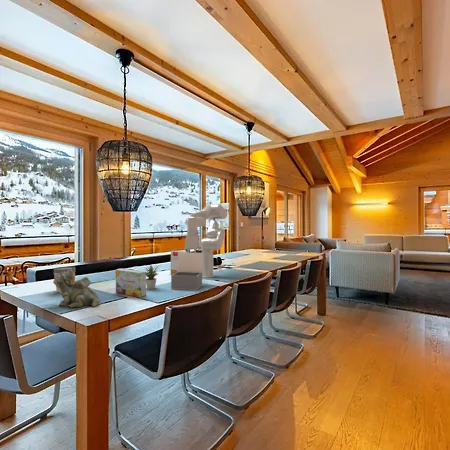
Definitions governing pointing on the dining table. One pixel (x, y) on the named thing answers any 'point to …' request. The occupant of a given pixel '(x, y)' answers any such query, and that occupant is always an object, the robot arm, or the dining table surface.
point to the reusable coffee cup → (62, 269)
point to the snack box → (131, 282)
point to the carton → (186, 280)
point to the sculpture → (75, 290)
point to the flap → (190, 262)
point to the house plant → (151, 277)
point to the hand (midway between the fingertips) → (192, 258)
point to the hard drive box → (174, 261)
